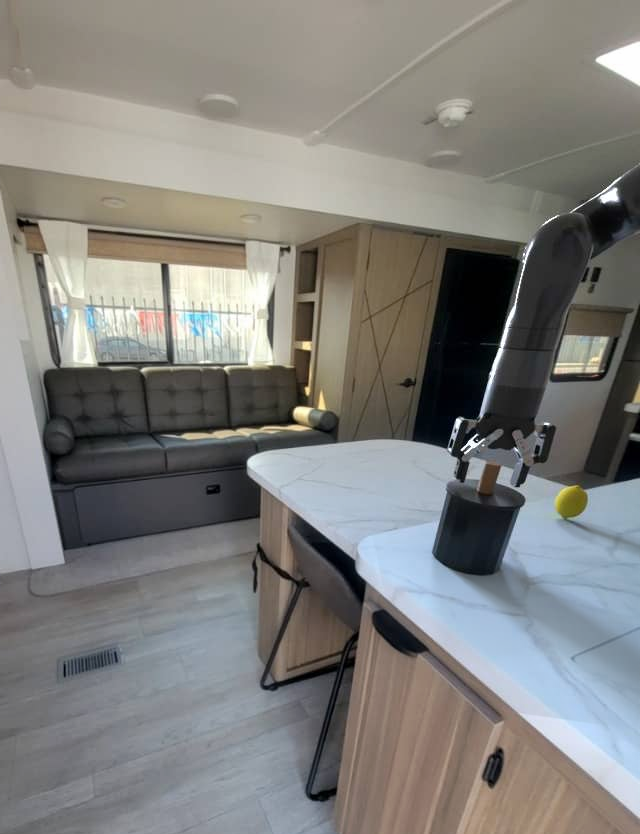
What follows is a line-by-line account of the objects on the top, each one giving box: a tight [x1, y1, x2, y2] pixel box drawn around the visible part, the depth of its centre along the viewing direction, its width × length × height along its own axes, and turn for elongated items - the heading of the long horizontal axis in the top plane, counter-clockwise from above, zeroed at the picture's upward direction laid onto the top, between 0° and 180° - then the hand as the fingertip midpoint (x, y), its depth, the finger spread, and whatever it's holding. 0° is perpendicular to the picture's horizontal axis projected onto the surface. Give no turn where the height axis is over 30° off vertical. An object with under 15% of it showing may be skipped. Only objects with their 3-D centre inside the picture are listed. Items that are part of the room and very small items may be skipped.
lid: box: [445, 460, 527, 510], centre depth 67 cm, size 12×12×6 cm
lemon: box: [554, 484, 589, 520], centre depth 89 cm, size 6×6×8 cm
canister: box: [431, 491, 521, 577], centre depth 71 cm, size 11×11×13 cm
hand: (487, 483), depth 67 cm, fingers open, 8 cm apart
